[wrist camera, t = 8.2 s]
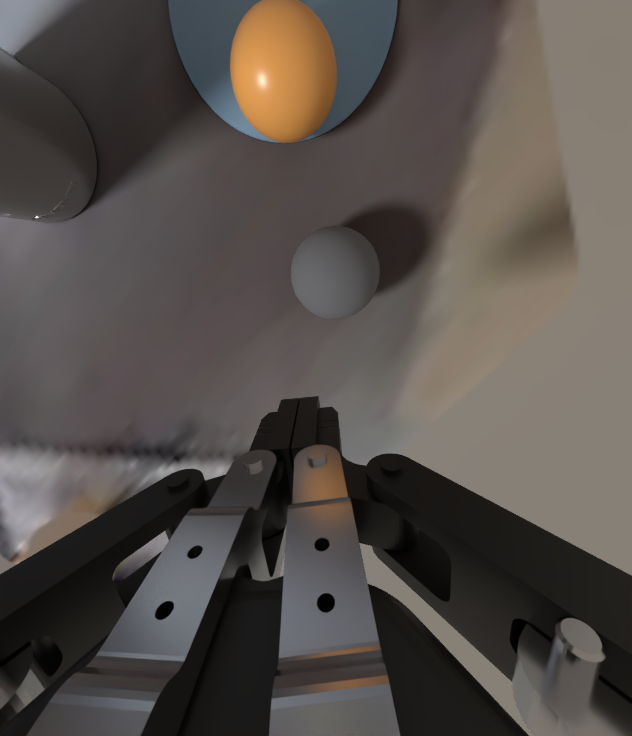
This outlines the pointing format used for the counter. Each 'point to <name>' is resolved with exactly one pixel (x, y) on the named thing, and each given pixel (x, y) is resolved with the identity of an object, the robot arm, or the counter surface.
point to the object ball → (283, 70)
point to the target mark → (339, 16)
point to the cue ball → (335, 272)
